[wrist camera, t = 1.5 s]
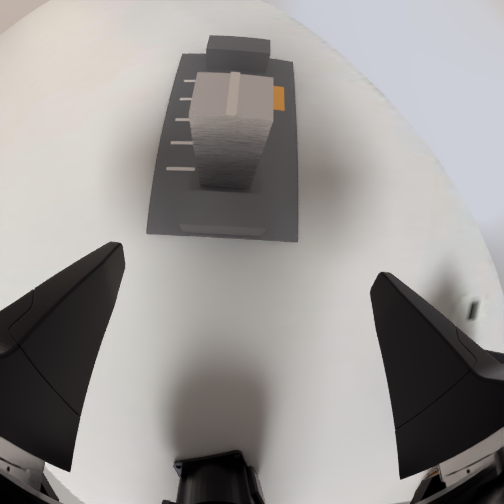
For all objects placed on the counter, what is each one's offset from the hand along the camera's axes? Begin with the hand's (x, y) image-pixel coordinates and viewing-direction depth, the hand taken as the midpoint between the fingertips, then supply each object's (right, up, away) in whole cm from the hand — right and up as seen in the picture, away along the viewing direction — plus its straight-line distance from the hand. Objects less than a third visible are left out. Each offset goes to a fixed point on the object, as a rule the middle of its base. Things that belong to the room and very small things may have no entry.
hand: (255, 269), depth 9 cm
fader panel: (-2, +12, +14) cm, 18 cm away
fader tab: (-2, +7, +13) cm, 15 cm away
